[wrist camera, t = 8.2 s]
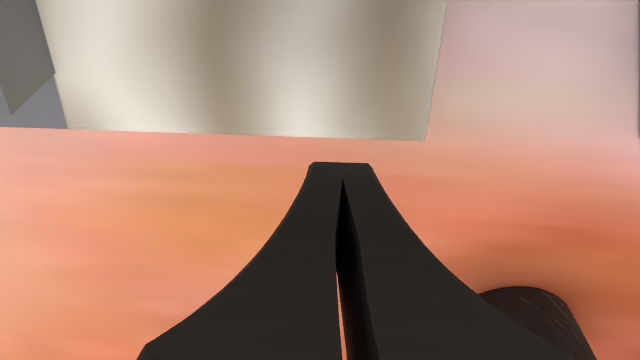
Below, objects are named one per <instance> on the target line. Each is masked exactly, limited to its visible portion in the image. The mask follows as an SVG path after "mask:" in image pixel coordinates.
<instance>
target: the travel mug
mask: <svg viewBox="0 0 640 360" xmlns="http://www.w3.org/2000/svg"><path fill="white" fill-rule="evenodd" d="M479 296H480V297H481V298H482V299H484V300H485V301H486V302H488V303H489V304H491V305H492V306H493V307H495V308H496V309H497V310H499V311H500V312H502V313H503V314H505V315H506V316H508V317H509V318H511V319H512V320H513V321H515V322H516V323H518V324H519V325H521V326H522V327H524V328H526V329H527V330H529V331H531V332H532V333H534V334H536V335H538V336H539V337H541V338H543V339H544V340H546V341H548V342H550V343H551V344H553V345H555V346H556V347H558V348H560V349H562V350H563V351H565V352H567V353H568V354H570V355H571V356H572V358H573V359H574V360H597V359H596V357H595V356H594V354H593V352H592V350H591V348H590V346H589V344H588V342H587V340H586V338H585V336H584V335H583V333H582V331H581V329H580V327H579V325H578V324H577V322H576V320H575V318H574V316H573V315H572V313H571V311H570V310H569V308H568V307H567V306H566V304H565V303H564V302H563V301H561V300H560V299H559V298H558V297H556V296H554V295H553V294H551V293H548V292H546V291H543V290H539V289H535V288H528V287H510V288H502V289H497V290H493V291H490V292H486V293H484V294H481V295H479Z"/></svg>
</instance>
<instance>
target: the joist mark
mask: <svg viewBox="0 0 640 360" xmlns="http://www.w3.org/2000/svg"><path fill="white" fill-rule="evenodd" d="M54 77H55V76H52V77H51V78H50V79H49V80H48V81H47V82H46V83H45V84H44V85H43V86H42V87H41V88H40V89H39V90H38V91H37V92H35V93H34V94H33V95H32V96H31V97H30V98H29V99H28V100H27V101H26V102H25V103H24V104H23V105H22V106H21V107H20V108H19V109H18V110H17V111H16V112H15V113H14V114H13V115H12V116H0V127H25V128H56V129H68V128H67V124H66V123H67V122H66V120H65V117H64V113H63V112H64V111H63V109H64V108H63V109H62V106H63V105H62V106H61V102H60V101H61V100H60V98H59V94H58V91H57V85H56V84H57V83H55V81H56V79H54Z"/></svg>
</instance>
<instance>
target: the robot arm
mask: <svg viewBox="0 0 640 360" xmlns="http://www.w3.org/2000/svg"><path fill="white" fill-rule="evenodd" d="M336 273H337V276H338V285H339V294H340V302H341V311H342V319H343V327H344V336H345V344H346V353H347V360H574V359H573V358H572V356H571V355H570V354H568V353H567V352H565V351H563V350H562V349H560V348H558V347H556V346H555V345H553V344H551V343H550V342H548V341H546V340H544V339H543V338H541V337H539V336H538V335H536V334H534V333H532V332H531V331H529V330H527V329H526V328H524V327H522V326H521V325H519V324H518V323H516V322H515V321H513V320H512V319H511V318H509V317H508V316H506V315H505V314H503V313H502V312H500V311H499V310H497V309H496V308H495V307H493V306H492V305H491V304H489V303H488V302H486V301H485V300H484V299H482V298H481V297H480V296H479V295H478V294H476V293H475V292H474V291H473V290H471V289H470V288H469V287H468V286H467V285H465V284H464V283H463V282H462V281H460V280H459V279H458V278H457V277H456V276H455V275H454V274H452V273H451V272H450V271H449V270H448V269H447V268H446V267H445V266H444V265H443V264H442V263H441V262H440V261H439V260H438V259H437V258H436V257H435V256H434V255H433V254H432V253H431V251H430V250H429V249H428V248H427V247H426V246H425V245H424V244H423V242H422V241H421V240H420V239H419V238H418V236H417V235H416V234H415V233H414V232H413V230H412V229H411V228H410V226H409V225H408V224H407V223H406V221H405V220H404V219H403V217H402V216H401V214H400V213H399V211H398V210H397V209H396V207H395V206H394V204H393V203H392V201H391V200H390V198H389V197H388V195H387V194H386V192H385V190H384V189H383V187H382V186H381V184H380V182H379V180H378V178H377V177H376V175H375V173H374V171H373V169H372V167H371V166H370V165H369V164H368V163H338V162H313V163H312V164H311V165H310V166H309V168H308V172H307V175H306V178H305V180H304V183H303V185H302V187H301V189H300V191H299V193H298V195H297V197H296V198H295V200H294V202H293V204H292V205H291V207H290V209H289V211H288V212H287V214H286V215H285V217H284V218H283V220H282V221H281V223H280V224H279V226H278V227H277V229H276V230H275V231H274V233H273V234H272V236H271V237H270V238H269V240H268V241H267V242H266V243H265V245H264V246H263V247H262V248H261V250H260V251H259V252H258V253H257V254H256V255H255V257H254V258H253V259H252V260H251V261H250V262H249V263H248V264H247V265H246V266H245V267H244V268H243V269H242V270H241V271H240V272H239V274H238V275H237V276H236V277H235V278H234V279H233V280H232V281H230V282H229V283H228V284H227V285H226V286H225V287H224V288H223V289H222V290H221V291H220V292H218V293H217V294H216V295H215V296H213V297H212V298H211V299H210V300H209V301H207V302H206V303H205V304H204V305H202V306H201V307H200V308H199V309H197V310H196V311H195V312H194V313H193V314H191V315H190V316H188V317H187V318H186V319H184V320H183V321H182V322H180V323H178V324H177V325H175V326H174V327H172V328H171V329H169V330H168V331H166V332H165V333H163V334H162V335H160V336H159V337H157V338H156V339H154V340H152V341H150V342H149V343H147V344H146V345H145V346H144V348H143V349H142V351H141V353H140V354H139V356H138V358H137V360H342V350H341V338H340V327H339V312H338V298H337V279H336Z"/></svg>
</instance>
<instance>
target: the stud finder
mask: <svg viewBox="0 0 640 360" xmlns="http://www.w3.org/2000/svg"><path fill="white" fill-rule="evenodd" d="M54 74H55V69H54V65H53V62H52V58H51V55H50V51H49V47H48V44H47V40H46V36H45V33H44V29H43V26H42V22H41V18H40V15H39V11H38V8H37V4H36V0H0V116H12V115H13V114H14V113H15V112H16V111H17V110H18V109H19V108H20V107H21V106H22V105H23V104H24V103H25V102H26V101H27V100H28V99H29V98H30V97H31V96H32V95H33V94H34V93H35V92H37V91H38V90H39V89H40V88H41V87H42V86H43V85H44V84H45V83H46V82H47V81H48V80H49V79H50V78H51V77H52V76H53V75H54Z"/></svg>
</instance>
